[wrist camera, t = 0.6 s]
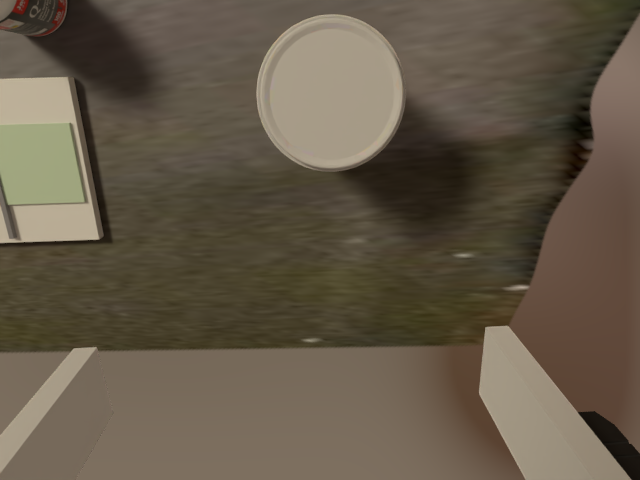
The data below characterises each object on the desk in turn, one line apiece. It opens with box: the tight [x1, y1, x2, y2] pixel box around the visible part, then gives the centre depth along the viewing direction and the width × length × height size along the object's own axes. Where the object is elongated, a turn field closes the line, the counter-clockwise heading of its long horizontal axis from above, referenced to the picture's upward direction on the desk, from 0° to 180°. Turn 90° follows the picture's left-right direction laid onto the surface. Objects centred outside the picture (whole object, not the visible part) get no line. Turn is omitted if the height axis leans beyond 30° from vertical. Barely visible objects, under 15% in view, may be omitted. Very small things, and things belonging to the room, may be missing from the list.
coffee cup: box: [257, 15, 406, 172], centre depth 33 cm, size 9×9×12 cm
